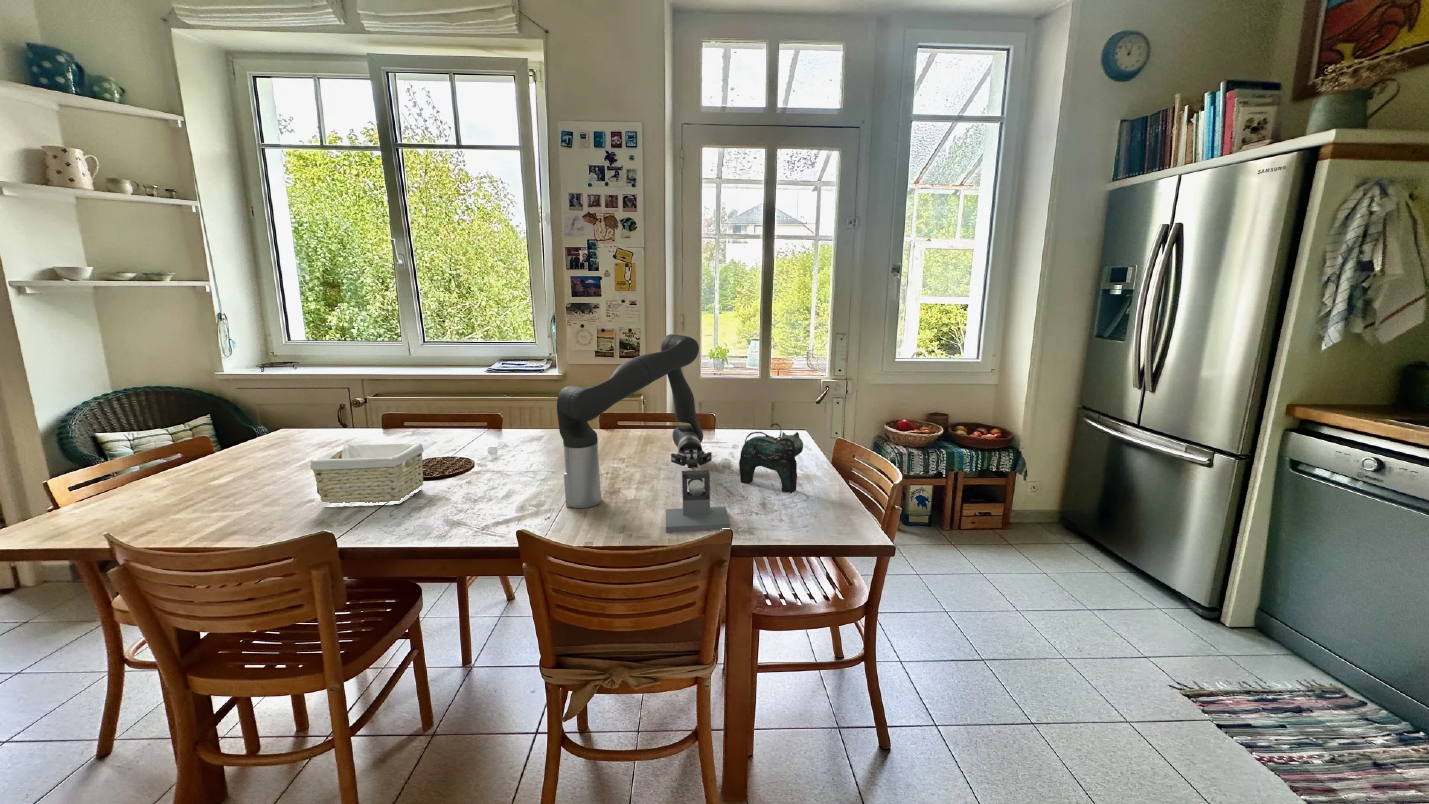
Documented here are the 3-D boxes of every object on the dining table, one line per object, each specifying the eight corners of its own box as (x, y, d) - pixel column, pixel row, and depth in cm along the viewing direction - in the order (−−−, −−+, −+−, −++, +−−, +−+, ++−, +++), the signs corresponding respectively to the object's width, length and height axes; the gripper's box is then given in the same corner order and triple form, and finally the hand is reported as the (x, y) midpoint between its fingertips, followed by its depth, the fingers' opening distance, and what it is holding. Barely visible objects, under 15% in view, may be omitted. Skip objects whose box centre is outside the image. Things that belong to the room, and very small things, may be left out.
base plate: (666, 532, 133) (665, 511, 132) (665, 514, 144) (665, 494, 143) (730, 529, 134) (730, 508, 133) (725, 511, 145) (725, 492, 144)
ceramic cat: (803, 490, 160) (804, 425, 156) (793, 497, 155) (795, 429, 151) (745, 477, 171) (746, 416, 167) (735, 484, 166) (734, 420, 162)
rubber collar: (682, 500, 139) (682, 474, 137) (682, 496, 142) (681, 470, 140) (710, 499, 139) (709, 473, 138) (709, 495, 142) (708, 469, 141)
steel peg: (688, 496, 137) (688, 481, 137) (687, 481, 148) (686, 467, 147) (704, 495, 138) (704, 480, 137) (701, 480, 149) (701, 467, 148)
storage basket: (314, 510, 149) (305, 459, 146) (351, 489, 165) (344, 442, 162) (401, 508, 150) (394, 457, 147) (430, 487, 166) (424, 441, 163)
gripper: (668, 438, 170) (669, 454, 153) (710, 437, 171) (715, 453, 154) (669, 461, 172) (670, 479, 155) (710, 459, 173) (715, 477, 156)
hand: (692, 466), depth 155 cm, fingers closed
